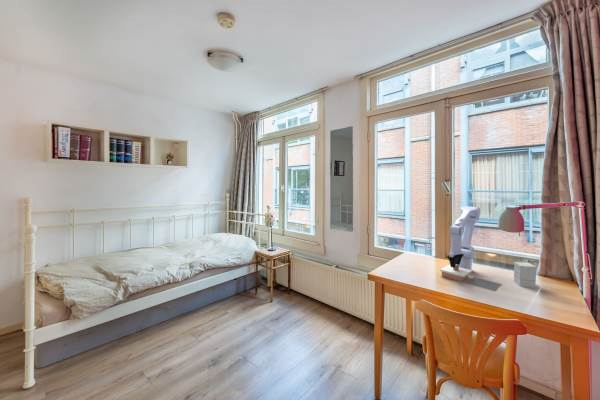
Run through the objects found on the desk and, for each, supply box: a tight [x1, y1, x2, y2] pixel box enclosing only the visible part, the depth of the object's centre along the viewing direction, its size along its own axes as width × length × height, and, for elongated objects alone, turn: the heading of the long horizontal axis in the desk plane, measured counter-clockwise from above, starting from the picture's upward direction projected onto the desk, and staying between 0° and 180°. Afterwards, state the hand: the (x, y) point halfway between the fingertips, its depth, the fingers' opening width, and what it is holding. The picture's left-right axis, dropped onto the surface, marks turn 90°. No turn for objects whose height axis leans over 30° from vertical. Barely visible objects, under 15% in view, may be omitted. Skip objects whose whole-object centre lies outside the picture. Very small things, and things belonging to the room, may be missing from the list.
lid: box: [440, 264, 473, 277], centre depth 155 cm, size 13×13×4 cm
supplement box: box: [513, 261, 537, 289], centre depth 143 cm, size 7×7×13 cm
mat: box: [466, 276, 503, 292], centre depth 145 cm, size 14×14×1 cm
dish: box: [441, 271, 469, 282], centre depth 156 cm, size 11×11×4 cm
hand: (455, 265), depth 155 cm, fingers open, 7 cm apart
